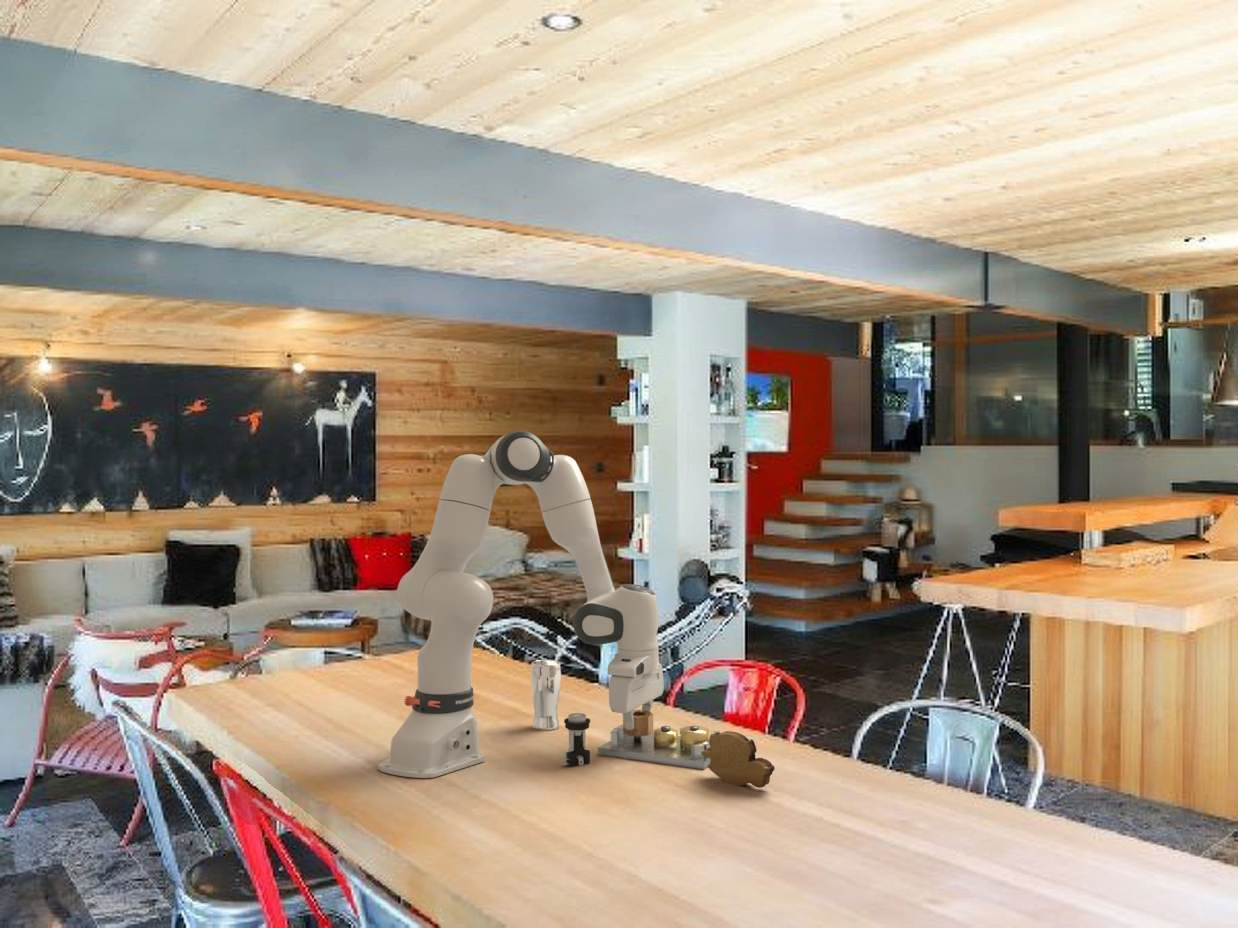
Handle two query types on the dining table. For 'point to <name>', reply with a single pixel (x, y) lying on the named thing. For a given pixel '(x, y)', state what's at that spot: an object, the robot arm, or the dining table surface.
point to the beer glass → (545, 693)
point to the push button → (576, 740)
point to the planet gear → (640, 724)
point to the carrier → (661, 746)
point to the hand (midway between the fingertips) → (637, 724)
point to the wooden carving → (737, 760)
